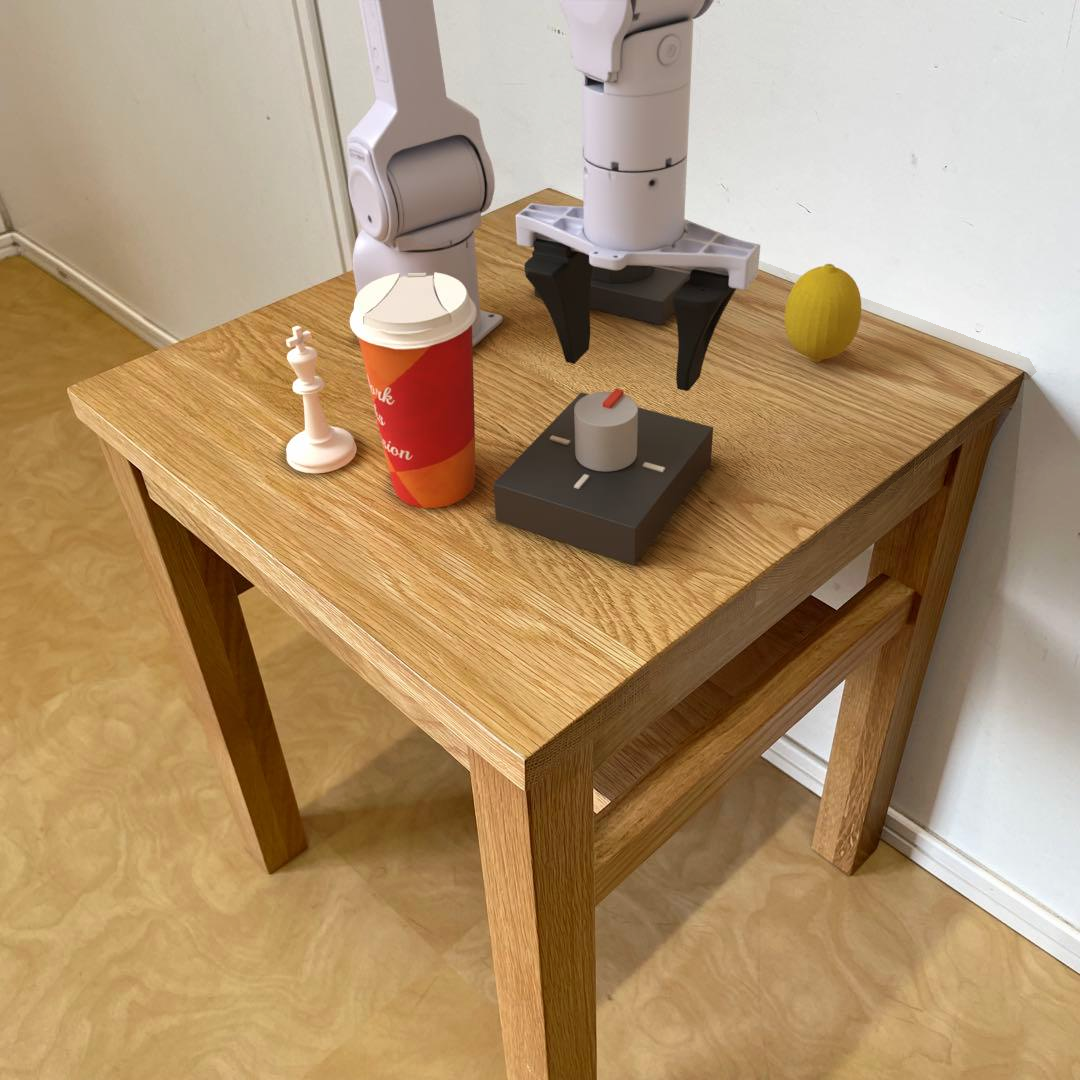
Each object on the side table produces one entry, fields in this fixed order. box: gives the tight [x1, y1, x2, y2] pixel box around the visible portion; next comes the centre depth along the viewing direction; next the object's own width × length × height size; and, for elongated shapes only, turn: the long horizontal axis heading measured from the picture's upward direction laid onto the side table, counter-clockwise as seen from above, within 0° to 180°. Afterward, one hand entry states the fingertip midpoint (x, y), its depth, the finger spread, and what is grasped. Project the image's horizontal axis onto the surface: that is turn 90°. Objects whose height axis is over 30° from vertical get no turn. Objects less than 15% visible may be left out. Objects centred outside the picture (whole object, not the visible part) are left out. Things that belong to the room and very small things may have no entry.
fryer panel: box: [492, 392, 714, 566], centre depth 73 cm, size 10×12×3 cm
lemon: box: [784, 263, 862, 363], centre depth 83 cm, size 6×6×8 cm
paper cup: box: [349, 272, 477, 509], centre depth 71 cm, size 8×8×14 cm
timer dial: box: [574, 388, 638, 472], centre depth 71 cm, size 4×4×4 cm
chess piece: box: [285, 325, 358, 474], centre depth 76 cm, size 5×5×10 cm
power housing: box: [534, 265, 690, 326], centre depth 95 cm, size 12×8×4 cm, turn 61°
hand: (631, 368), depth 69 cm, fingers open, 7 cm apart
